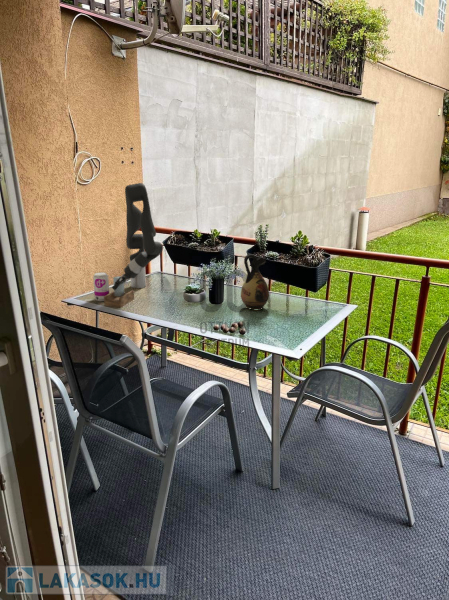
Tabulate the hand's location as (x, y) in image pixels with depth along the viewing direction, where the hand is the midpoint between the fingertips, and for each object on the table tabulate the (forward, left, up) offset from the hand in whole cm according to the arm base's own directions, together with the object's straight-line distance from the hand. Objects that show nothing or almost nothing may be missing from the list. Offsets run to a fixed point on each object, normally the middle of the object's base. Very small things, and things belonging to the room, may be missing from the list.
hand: (116, 287), depth 247 cm
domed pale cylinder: (0, +2, -4) cm, 5 cm away
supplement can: (-2, -10, -9) cm, 14 cm away
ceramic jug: (-12, +76, -9) cm, 77 cm away
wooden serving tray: (0, +2, -9) cm, 9 cm away
